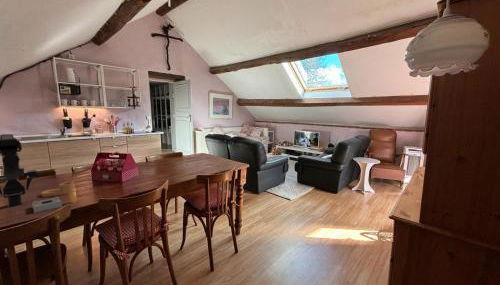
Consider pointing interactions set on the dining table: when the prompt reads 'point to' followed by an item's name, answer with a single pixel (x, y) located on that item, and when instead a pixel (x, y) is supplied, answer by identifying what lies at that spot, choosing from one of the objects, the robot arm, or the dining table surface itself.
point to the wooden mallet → (63, 189)
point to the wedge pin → (72, 195)
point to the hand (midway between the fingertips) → (14, 192)
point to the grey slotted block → (46, 204)
